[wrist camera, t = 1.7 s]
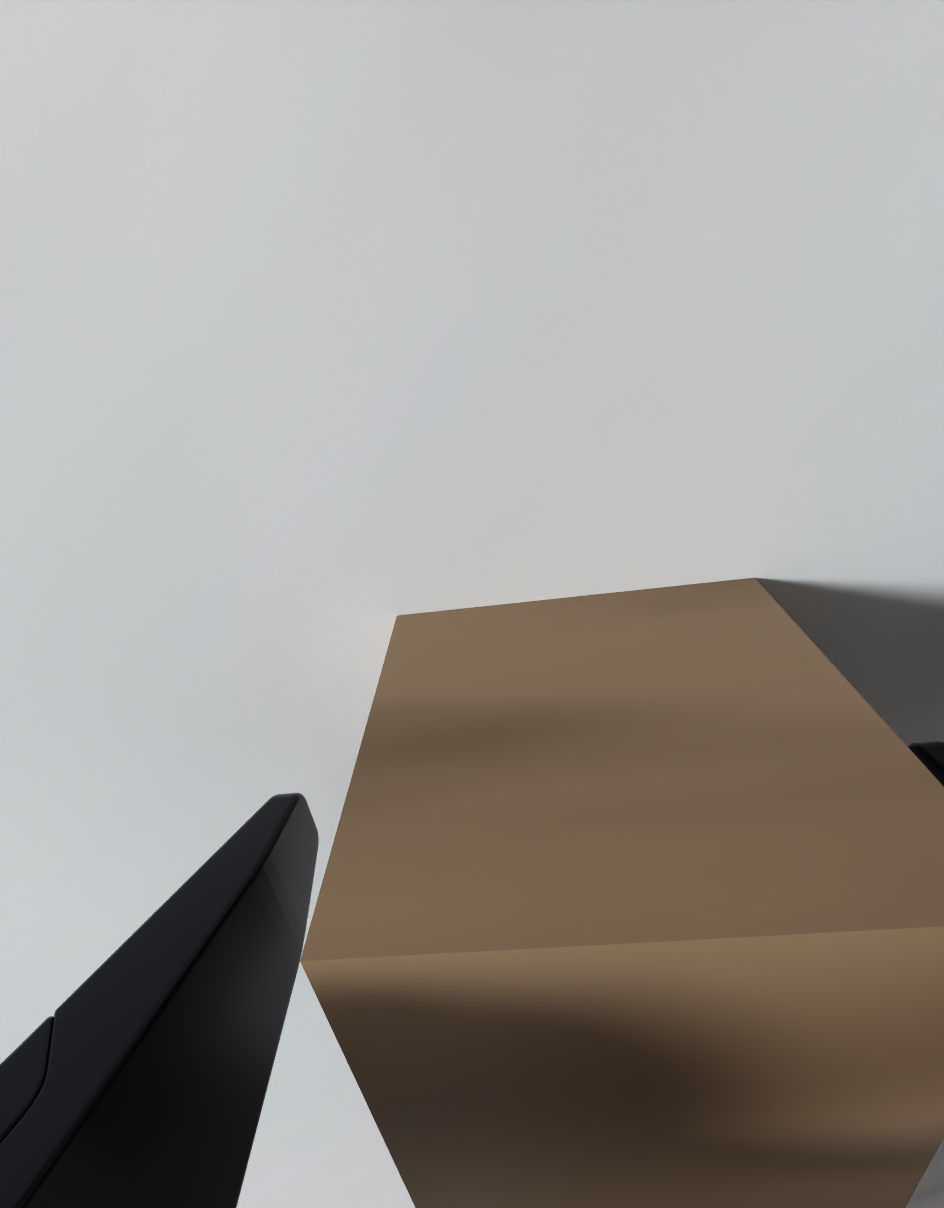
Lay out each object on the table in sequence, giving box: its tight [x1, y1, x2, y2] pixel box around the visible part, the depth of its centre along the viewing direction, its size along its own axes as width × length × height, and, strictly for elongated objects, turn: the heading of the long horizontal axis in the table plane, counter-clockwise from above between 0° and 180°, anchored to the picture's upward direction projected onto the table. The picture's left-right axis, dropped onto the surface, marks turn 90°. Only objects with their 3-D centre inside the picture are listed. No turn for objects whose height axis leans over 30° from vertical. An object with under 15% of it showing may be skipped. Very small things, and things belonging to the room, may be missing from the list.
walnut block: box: [300, 578, 944, 1208], centre depth 7 cm, size 5×5×5 cm
